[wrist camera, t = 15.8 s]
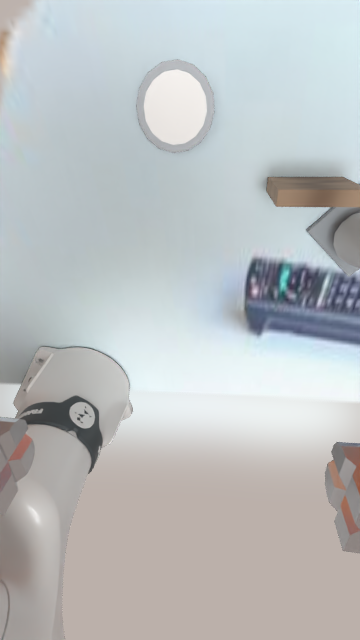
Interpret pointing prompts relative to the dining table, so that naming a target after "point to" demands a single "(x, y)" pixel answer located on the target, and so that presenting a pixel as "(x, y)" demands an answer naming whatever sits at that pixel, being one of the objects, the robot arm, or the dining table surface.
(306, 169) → the dining table surface
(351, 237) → the salt shaker
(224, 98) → the dining table surface
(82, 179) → the dining table surface
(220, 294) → the dining table surface
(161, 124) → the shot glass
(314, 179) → the walnut box
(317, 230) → the slate mat
